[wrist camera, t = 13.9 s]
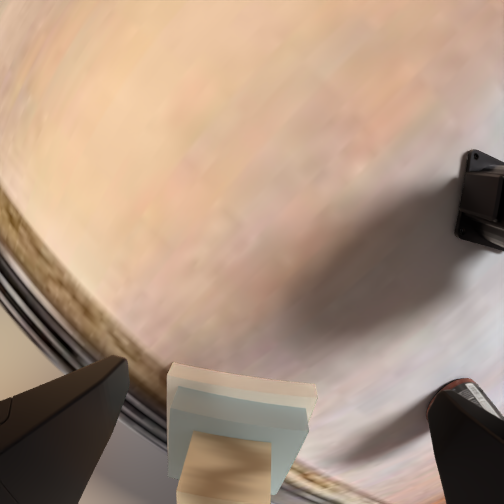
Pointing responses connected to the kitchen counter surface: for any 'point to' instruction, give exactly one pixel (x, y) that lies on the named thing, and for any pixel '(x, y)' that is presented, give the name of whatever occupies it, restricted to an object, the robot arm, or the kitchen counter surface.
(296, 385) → the bottom block
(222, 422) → the top block
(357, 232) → the kitchen counter surface
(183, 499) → the maple cube
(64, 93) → the kitchen counter surface
